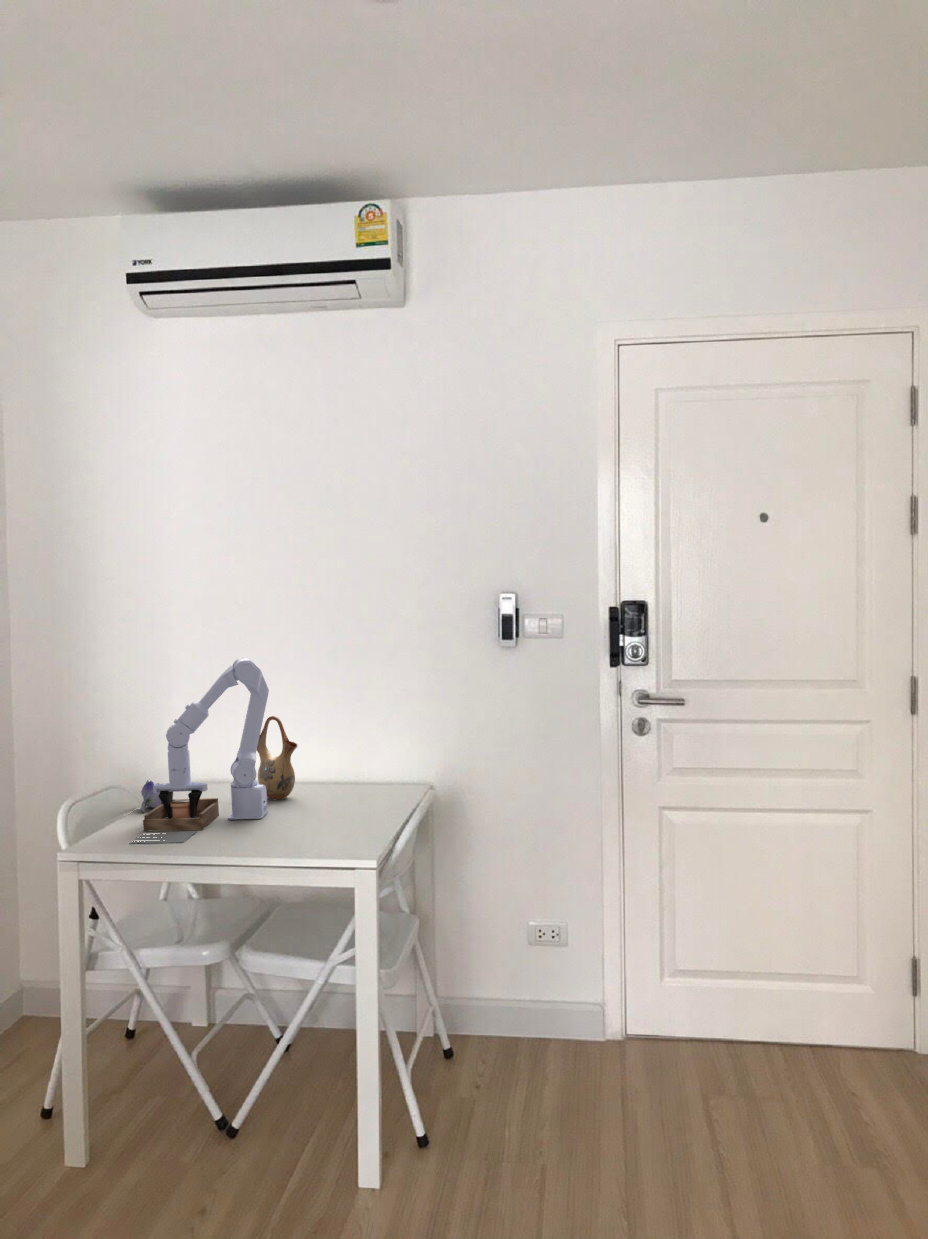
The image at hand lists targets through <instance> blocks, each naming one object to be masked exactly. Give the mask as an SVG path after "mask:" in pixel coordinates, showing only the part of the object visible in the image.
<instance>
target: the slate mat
mask: <svg viewBox="0 0 928 1239" xmlns="http://www.w3.org/2000/svg"><path fill="white" fill-rule="evenodd" d="M157 833H160V834H155V835H153V834H150V835H146V834H145V835H143V833H142V834H140V835H139V836H138V837H139V838H138V837H136V838H134V840H160V841H145V842H144V841H141V842H140V841H139V842H137V841H135V842H134V841H133V840H132V841H133V842H132V841H130V843H131V844H130V845H138V844H137V843H143V844H142V845H145V844H144V843H153V844H183V843H185V842H186V841H187V840H189V838H191V837H192V836H194V835H195V834H196V831H166V832H165V831H160V832H159V831H157ZM162 833H166V834H162ZM140 837H141V838H140ZM142 837H145V838H142ZM146 837H150V838H146ZM153 837H157V838H153ZM161 837H162V838H161ZM163 840H165V841H163Z"/></svg>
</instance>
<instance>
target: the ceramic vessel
mask: <svg viewBox="0 0 928 1239" xmlns="http://www.w3.org/2000/svg"><path fill="white" fill-rule="evenodd" d="M271 721H275V722H276V723H277V725H278V728H279V731H280V735H281V742H282V748H281V749H282V750H281V752H280V754H279V755H278V756H276V755H273V754H272V753H271V752H270V751H269V749H268V747H267V735H268V728H269V725H270V722H271ZM286 733H287V732H286V730H285V728H284V724H283V723H282V721H281V719H280V718H279V717H278V716H275V715H272V716H271V715H270V716H269V717H267V718H266V720H265V722H264V726H263V727H262V729H261V732H260V736H259V741H258V746H257V751H256V752H257V753H258V755H259V758H260V761H259V762H260V764H259V768H258V769H257V784H260V785H265V786H266V792H267V799H270V800H272V799H281V800H284V799H286V798H288V797H289V796H290V794H291V793H292V791H293V789H294V788H295V787H294V786H295V783H296V775H295V769H294V768H293V764H292V761H291V758H292V755H293V752H294V751H295V750H296V749H297V748H298V747H299V745H298V744H297V743H296V742H295V741H290V740H289V738H288V735H287V734H286Z"/></svg>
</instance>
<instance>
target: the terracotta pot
mask: <svg viewBox="0 0 928 1239" xmlns="http://www.w3.org/2000/svg"><path fill="white" fill-rule="evenodd" d="M180 799H181V800H175V801H172V802H170V807H172V818H191V815H190V801H189V798H180Z"/></svg>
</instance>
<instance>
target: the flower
mask: <svg viewBox="0 0 928 1239" xmlns="http://www.w3.org/2000/svg"><path fill="white" fill-rule="evenodd" d="M156 784H160V782H157V783H156ZM154 785H155V783H154V782H153V781H152V780H149V779H147V780H146V781H145V784H144V785H143V786H142V788H141V792H140V793H141V796H142V798H143V801H142V802H141V811H142V814H145V813H146V808H151V809H154V808H156V807H157V806H159V805H160V804H161V800H160V798H159V794H160V792H157V793H153V786H154Z"/></svg>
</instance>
